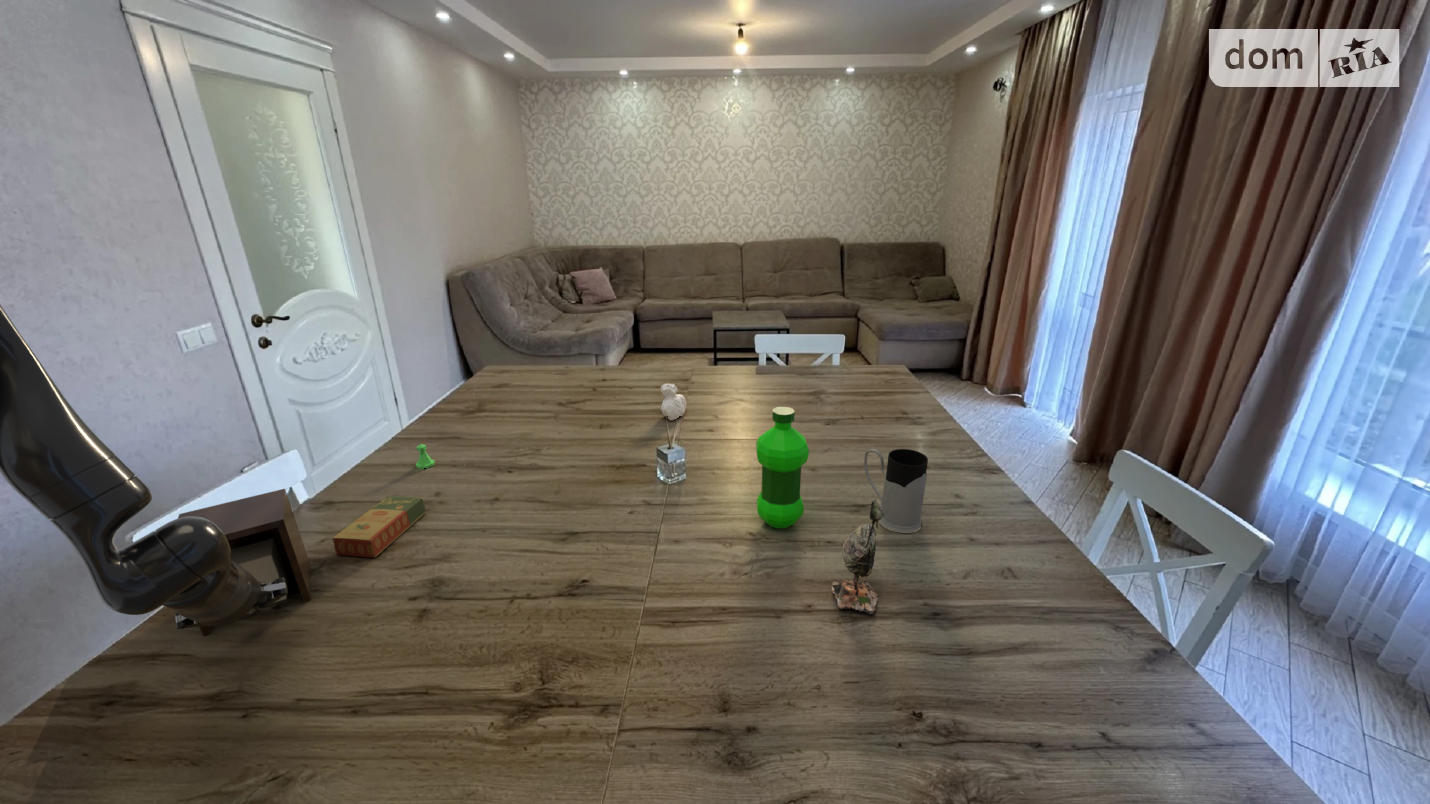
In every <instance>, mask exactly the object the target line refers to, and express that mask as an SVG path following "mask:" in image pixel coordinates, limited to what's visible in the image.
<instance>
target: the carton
mask: <svg viewBox="0 0 1430 804" xmlns="http://www.w3.org/2000/svg"><path fill="white" fill-rule="evenodd" d="M426 514H427V509H426V505H425V502H424V499H423V497H421V496H420V497H419V496H418V497H417V496H395V495H388V496H386V497H384V498H383V499H381V500H380V502H378V503H377V504H376V505H374V506H373V507H372V508H370V509H368V511H366V512H365V513H364V514H362V515H360V517H358V518H357V519H356V520H354V521H353V522H352V523H350V524H349V525H348V526H347V527H345V528H344V529H342V530H341V531H340V532H339V533H337V534H336V535H335V536H333V537H332V542H333V547H334V550H335V553H336V555H337V556H347V557H359V558H360V557H361V558H376V557H378V556H379V555H380V554H381V553H382V552H383V551H384V550H386V549H387V548H388V547H389V546H390V545H391V544H392V543H394V542H395V540H397V539H398V538H399V537H400V536H401V535H402V534H404V533H405V532H406V531H407V530H408V529H410V528H411V527H412V526H413V525H414V524H416V523H417V522H418V521H419V520H420V519H421V518H423V517H424V516H425V515H426Z"/></svg>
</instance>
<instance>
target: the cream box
mask: <svg viewBox="0 0 1430 804" xmlns="http://www.w3.org/2000/svg"><path fill="white" fill-rule="evenodd" d="M231 558H232V559H231V561H233V562H235V563H237V564H238V565H240V566H241V567H242V568H244V569H245V570H246V571H248V572H249V573H250V574H251V575H253V576H254V577H255V579H256V580H257V581H258V582H265V583H266V584H267V585H268V583H270V582H273V581H274V580H276V579H278V578H281V577H282V578H283V577H285V580H286V585H287V590H288V591H289V578H288V575H287V574H286V572H285V569H284V566H283V564H282V561H281V558H280V555H279V552H278V550H277V547H276V544H275V541H274V538H271V539H268V540H264V541H260V542H257V543H253V544H249V545H246V546H242V547H238V548H235V549H231ZM287 599H288V594H286V595H285V596H283V597H282V598H280V599H279V600H277V601H276V602H274V603H273V604H276V603H278V602H282V601H284V600H287Z"/></svg>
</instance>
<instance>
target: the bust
mask: <svg viewBox="0 0 1430 804" xmlns="http://www.w3.org/2000/svg"><path fill="white" fill-rule="evenodd" d="M660 392H661V393H662V396H665V397H664V399H663V400H662V403H661V408H660V409H661V412H662V413H661V414H662V415H663V416H664V417H665V416H668V417H667V419H668V420H669V421H674V420H678V419H677V418H678V416H681V417H683V416H684V415H685V412H686V410H687V400H686V398H685V396H684V395H683V394H679V393H677V392H678V387H677V386H676V385H675V383H671V382H670V383H663V384H662V385H661V386H660ZM683 414H684V415H683Z"/></svg>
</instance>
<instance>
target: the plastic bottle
mask: <svg viewBox="0 0 1430 804" xmlns="http://www.w3.org/2000/svg"><path fill="white" fill-rule="evenodd" d="M795 413H796V412H795V409H793V408H792V407H789V406H777V407H773V408H772V414H771V415H772V416H771V417H772V421H773V422H774V426H772V427H771V428H769V429H768V430H766V431H765V432H764V433H762V434H761V435H759V436H758V438H757V440H756V443H755V444H756V446H755V451H756V457H757V462H758V463H759V464H760V465H761V491H760V493H759V495H758V496H757V499H756V509H757V514H758V516H759V518H760V519H761V520H763V521H764V522H765V523H766V524H767V525H769V526H770V525H771V526H773V527H775V529H779V528H783V529H788V528H789V527H791V526H793V525H794V524H795V523H796V522H797V521H799V520H800V519H801V518H802V516H803V514H804V512H805V507H804V503H803V499H802V496H801V482H802V481H801V480H802V479H801V478H802V467H803V466H804V465H806V463H807V462H808V460H809V459H808V458H809V455H810V454H809V453H810V449H809V446H808V443H807V440H806V437H805V436H804V435H803V434H802V433H801V432H799V431H798V430H797V429H796V428H794V427H793V426H792V423H793V422H795ZM771 526H770V527H771ZM773 527H772V528H773ZM787 527H788V528H787Z"/></svg>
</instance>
